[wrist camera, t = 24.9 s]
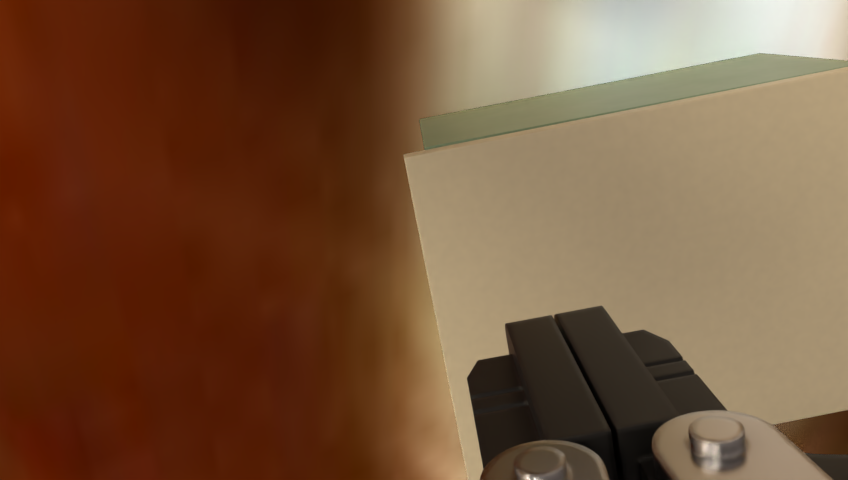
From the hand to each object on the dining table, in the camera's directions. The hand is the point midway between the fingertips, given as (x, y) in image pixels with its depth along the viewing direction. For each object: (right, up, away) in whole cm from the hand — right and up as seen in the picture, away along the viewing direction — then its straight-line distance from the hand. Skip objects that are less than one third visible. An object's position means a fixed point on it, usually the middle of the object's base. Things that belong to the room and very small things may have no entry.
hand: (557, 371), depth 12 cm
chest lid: (+7, 0, +19) cm, 20 cm away
